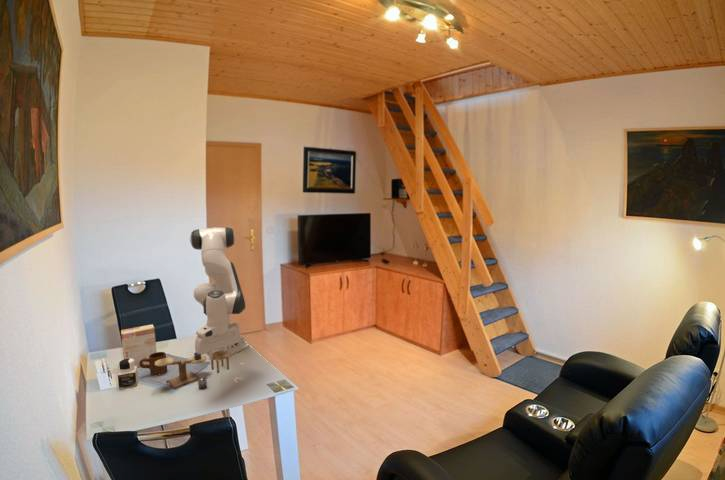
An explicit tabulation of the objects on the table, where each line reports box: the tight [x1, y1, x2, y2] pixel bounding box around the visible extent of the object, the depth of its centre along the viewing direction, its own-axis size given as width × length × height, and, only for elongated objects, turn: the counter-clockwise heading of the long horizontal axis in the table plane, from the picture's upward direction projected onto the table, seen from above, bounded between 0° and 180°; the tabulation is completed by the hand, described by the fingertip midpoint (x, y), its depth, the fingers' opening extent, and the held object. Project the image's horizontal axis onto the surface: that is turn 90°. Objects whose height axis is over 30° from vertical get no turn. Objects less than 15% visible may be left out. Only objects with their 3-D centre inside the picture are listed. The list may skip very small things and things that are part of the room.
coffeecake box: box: [120, 324, 157, 369], centre depth 207 cm, size 15×7×20 cm, turn 123°
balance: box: [155, 351, 208, 390], centre depth 188 cm, size 23×9×13 cm, turn 138°
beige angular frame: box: [233, 362, 245, 383], centre depth 195 cm, size 25×17×1 cm
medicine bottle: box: [117, 358, 139, 390], centre depth 186 cm, size 7×7×12 cm
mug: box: [139, 351, 168, 376], centre depth 197 cm, size 12×8×9 cm, turn 126°
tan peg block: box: [210, 350, 230, 374], centre depth 179 cm, size 6×6×8 cm
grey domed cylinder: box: [197, 376, 208, 391], centre depth 182 cm, size 4×4×4 cm
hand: (219, 357), depth 179 cm, fingers closed on tan peg block, 6 cm apart
